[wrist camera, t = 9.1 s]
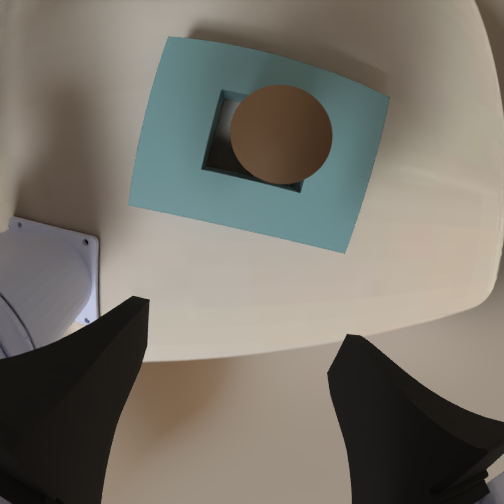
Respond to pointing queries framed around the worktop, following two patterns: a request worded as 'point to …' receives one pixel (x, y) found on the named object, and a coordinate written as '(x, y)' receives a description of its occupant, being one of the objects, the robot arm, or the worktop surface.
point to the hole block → (240, 185)
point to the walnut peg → (281, 134)
